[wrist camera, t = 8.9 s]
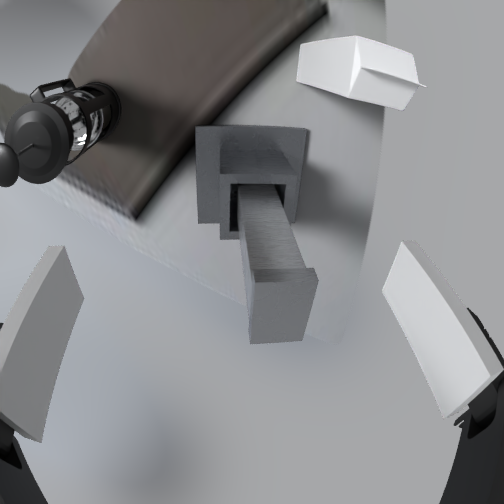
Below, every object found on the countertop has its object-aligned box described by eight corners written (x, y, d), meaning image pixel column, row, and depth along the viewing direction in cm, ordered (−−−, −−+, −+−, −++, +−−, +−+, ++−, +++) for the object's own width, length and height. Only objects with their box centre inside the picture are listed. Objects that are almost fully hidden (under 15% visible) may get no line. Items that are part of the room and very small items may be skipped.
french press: (134, 124, 38) (63, 188, 20) (87, 155, 39) (7, 235, 21) (99, 61, 31) (-1, 76, 13) (53, 97, 33) (-50, 144, 14)
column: (237, 172, 36) (254, 282, 20) (273, 172, 37) (318, 280, 21) (236, 220, 41) (250, 344, 24) (268, 219, 41) (302, 340, 25)
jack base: (196, 125, 39) (187, 148, 30) (305, 128, 41) (332, 152, 31) (198, 220, 49) (194, 267, 39) (293, 219, 51) (311, 264, 41)
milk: (334, 87, 38) (423, 121, 20) (295, 81, 37) (363, 106, 19) (339, 50, 34) (434, 57, 16) (299, 42, 33) (373, 33, 16)
